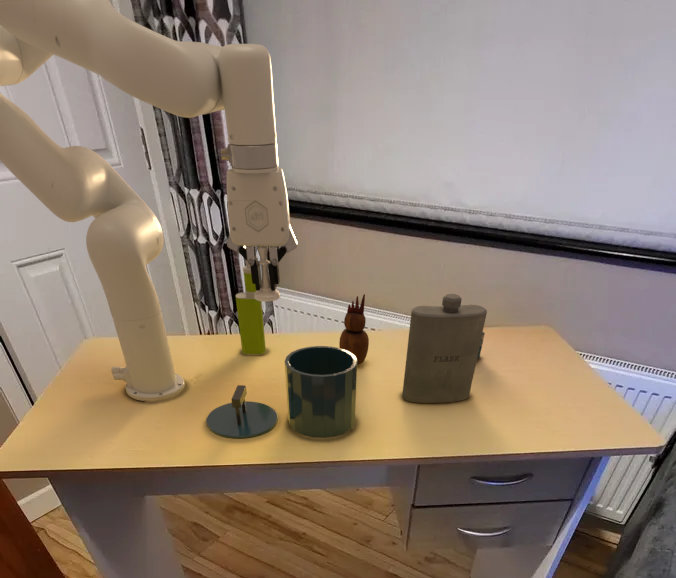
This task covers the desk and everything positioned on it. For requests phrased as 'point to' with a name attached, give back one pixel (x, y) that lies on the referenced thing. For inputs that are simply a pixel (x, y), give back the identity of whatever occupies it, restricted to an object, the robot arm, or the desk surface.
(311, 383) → the pot
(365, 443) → the desk surface
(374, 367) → the desk surface
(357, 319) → the wooden figurine
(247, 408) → the lid
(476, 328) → the flask
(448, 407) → the desk surface
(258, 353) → the vape
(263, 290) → the chess piece
